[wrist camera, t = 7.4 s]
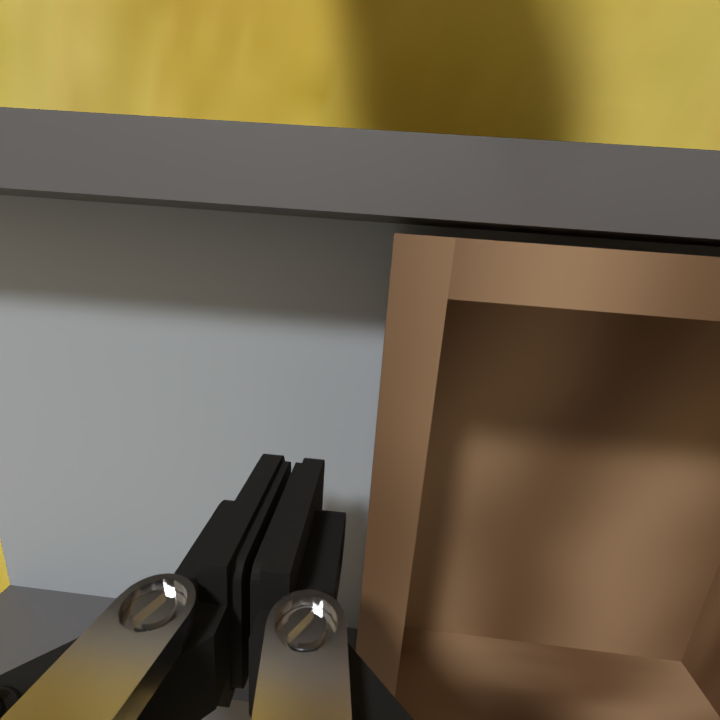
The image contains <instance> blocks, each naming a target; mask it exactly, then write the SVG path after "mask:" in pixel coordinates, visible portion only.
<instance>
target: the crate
mask: <svg viewBox="0 0 720 720" xmlns="http://www.w3.org/2000/svg"><path fill="white" fill-rule="evenodd" d="M356 653H357V654H358V655H359V656H360V657H361V658H362V660H363V661H364V662H365V663H366V664H367V666H368V667H369V668H370V669H371V670H372V671H373V673H374V674H375V675H376V676H377V677H378V678H379V680H380V681H381V682H382V683H383V684H384V686H385V687H386V688H387V689H388V690H389V691H390V693H391V694H392V695H393V696H394V697H395V698H396V700H397V701H398V702H399V703H400V704H401V706H402V707H403V708H404V709H405V710H406V711H407V713H408V714H409V715H410V716H411V717H412V718H413V720H720V257H711V256H698V255H684V254H671V253H657V252H644V251H630V250H617V249H603V248H589V247H576V246H562V245H549V244H535V243H522V242H508V241H495V240H481V239H468V238H454V237H440V236H427V235H413V234H400V233H394V237H393V246H392V257H391V268H390V279H389V290H388V301H387V312H386V323H385V334H384V345H383V356H382V367H381V378H380V389H379V400H378V410H377V421H376V432H375V443H374V454H373V465H372V476H371V487H370V498H369V509H368V520H367V531H366V542H365V553H364V564H363V575H362V586H361V597H360V608H359V619H358V630H357V641H356Z"/></svg>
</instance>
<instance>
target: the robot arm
mask: <svg viewBox="0 0 720 720" xmlns="http://www.w3.org/2000/svg"><path fill="white" fill-rule="evenodd" d="M324 471H325V460H322V459H313V458H304V459H303V462H302V463H298V462H296V463H295V465H294V467H293V470H292V472H291V462H289V461H285V458H284V456H283V455H273V454H263V455H262V456H261V458H260V459H259V461H258V463H257V464H256V466H255V468H254V469H253V471H252V473H251V474H250V476H249V478H248V479H247V481H246V483H245V484H244V486H243V488H242V489H241V491H240V493H239V494H238V496H237V498H236V499H235V501H233V500H223V501H222V502H221V503H220V504H219V505H218V507H217V508H216V510H215V512H214V513H213V515H212V516H211V518H210V519H209V521H208V522H207V524H206V525H205V527H204V528H203V530H202V531H201V533H200V535H199V536H198V538H197V539H196V541H195V542H194V544H193V545H192V547H191V548H190V550H189V551H188V553H187V554H186V556H185V558H184V559H183V561H182V562H181V564H180V565H179V567H178V568H177V570H176V571H175V573H174V574H171V573H165V574H157V575H153V576H150V577H147V578H144V579H142V580H140V581H138V582H137V583H135V584H133V585H131V586H130V587H129V588H127V589H126V590H125V591H124V592H123V593H121V594H120V595H119V596H118V597H117V598H116V599H115V600H114V601H113V602H112V603H111V605H110V606H109V607H108V608H107V609H106V610H105V611H104V612H103V613H102V614H101V615H100V616H99V617H98V618H97V619H96V620H95V621H94V622H93V623H92V624H91V625H90V626H89V627H88V628H87V629H86V630H85V632H84V633H83V634H82V635H81V636H80V637H78V638H76V639H74V640H72V641H70V642H68V643H66V644H64V645H62V646H60V647H58V648H55V649H53V650H51V651H49V652H47V653H45V654H43V655H41V656H39V657H37V658H34V659H32V660H30V661H28V662H26V663H24V664H22V665H20V666H18V667H16V668H14V669H11V670H9V671H7V672H5V673H3V674H1V675H0V720H201V719H203V718H204V717H206V716H207V715H208V714H210V713H211V712H213V711H214V710H215V709H216V708H217V706H220V707H228V708H229V707H230V704H231V701H232V698H233V695H234V692H235V689H236V688H240V689H243V688H244V687H245V685H246V682H247V680H248V677H249V715H250V717H251V720H413V718H412V717H411V716H410V715H409V714H408V713H407V711H406V710H405V709H404V708H403V707H402V706H401V704H400V703H399V702H398V701H397V700H396V698H395V697H394V696H393V695H392V694H391V693H390V691H389V690H388V689H387V688H386V687H385V686H384V684H383V683H382V682H381V681H380V680H379V678H378V677H377V676H376V675H375V674H374V673H373V671H372V670H371V669H370V668H369V667H368V666H367V664H366V663H365V662H364V661H363V660H362V658H361V657H360V656H359V655H358V654H357V653H356V651H355V650H354V649H353V648H352V647H351V646H350V644H349V643H348V642H347V625H346V618H345V614H344V610H343V609H342V607H341V605H340V604H339V602H338V601H337V597H338V590H339V583H340V576H341V568H342V560H343V550H344V540H345V527H346V512H336V511H327V510H322V506H323V488H324Z"/></svg>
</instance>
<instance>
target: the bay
mask: <svg viewBox="0 0 720 720" xmlns="http://www.w3.org/2000/svg"><path fill="white" fill-rule="evenodd" d="M394 233H400V234H413V235H427V236H440V237H454V238H468V239H481V240H495V241H508V242H522V243H535V244H549V245H562V246H576V247H589V248H603V249H617V250H630V251H644V252H657V253H671V254H684V255H698V256H711V257H720V151H717V150H701V149H684V148H668V147H651V146H634V145H618V144H601V143H585V142H568V141H552V140H535V139H519V138H502V137H486V136H469V135H453V134H436V133H420V132H403V131H387V130H370V129H354V128H337V127H321V126H304V125H288V124H271V123H255V122H238V121H222V120H205V119H189V118H172V117H156V116H139V115H123V114H106V113H90V112H73V111H57V110H40V109H24V108H7V107H0V538H1V543H2V548H3V553H4V557H5V562H6V567H7V572H8V576H9V581H10V586H9V587H7V588H6V589H5V590H4V591H3V592H2V593H1V594H0V675H1V674H3V673H5V672H7V671H9V670H11V669H14V668H16V667H18V666H20V665H22V664H24V663H26V662H28V661H30V660H32V659H34V658H37V657H39V656H41V655H43V654H45V653H47V652H49V651H51V650H53V649H55V648H58V647H60V646H62V645H64V644H66V643H68V642H70V641H72V640H74V639H76V638H78V637H80V636H81V635H82V634H83V633H84V632H85V630H86V629H87V628H88V627H89V626H90V625H91V624H92V623H93V622H94V621H95V620H96V619H97V618H98V617H99V616H100V615H101V614H102V613H103V612H104V611H105V610H106V609H107V608H108V607H109V606H110V605H111V603H112V602H113V601H114V600H115V599H116V598H117V597H118V596H119V595H120V594H121V593H123V592H124V591H125V590H126V589H127V588H129V587H130V586H131V585H133V584H135V583H137V582H138V581H140V580H142V579H144V578H147V577H150V576H153V575H157V574H165V573H171V574H174V573H175V571H176V570H177V568H178V567H179V565H180V564H181V562H182V561H183V559H184V558H185V556H186V554H187V553H188V551H189V550H190V548H191V547H192V545H193V544H194V542H195V541H196V539H197V538H198V536H199V535H200V533H201V531H202V530H203V528H204V527H205V525H206V524H207V522H208V521H209V519H210V518H211V516H212V515H213V513H214V512H215V510H216V508H217V507H218V505H219V504H220V503H221V502H222V501H223V500H233V501H235V499H236V498H237V496H238V494H239V493H240V491H241V489H242V488H243V486H244V484H245V483H246V481H247V479H248V478H249V476H250V474H251V473H252V471H253V469H254V468H255V466H256V464H257V463H258V461H259V459H260V458H261V456H262V455H263V454H273V455H283V456H284V458H285V461H289V462H291V472H292V470H293V467H294V465H295V463H296V462H298V463H302V462H303V459H304V458H313V459H322V460H325V471H324V488H323V506H322V510H327V511H336V512H346V527H345V540H344V550H343V560H342V568H341V576H340V583H339V590H338V597H337V601H338V602H339V604H340V605H341V607H342V609H343V610H344V614H345V618H346V625H347V642H348V643H349V644H350V646H351V647H352V648H353V649H354V650H355V651H356V641H357V630H358V619H359V608H360V597H361V586H362V575H363V564H364V553H365V542H366V531H367V520H368V509H369V498H370V487H371V476H372V465H373V454H374V443H375V432H376V421H377V410H378V400H379V389H380V378H381V367H382V356H383V345H384V334H385V323H386V312H387V301H388V290H389V279H390V268H391V257H392V246H393V237H394ZM201 720H251V717H250V715H249V677H248V680H247V682H246V685H245V687H244V688H243V689H240V688H236V689H235V692H234V695H233V698H232V701H231V704H230V707H229V708H228V707H220V706H217V708H216V709H215V710H214V711H213V712H211V713H210V714H208V715H207V716H206V717H204V718H203V719H201Z"/></svg>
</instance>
